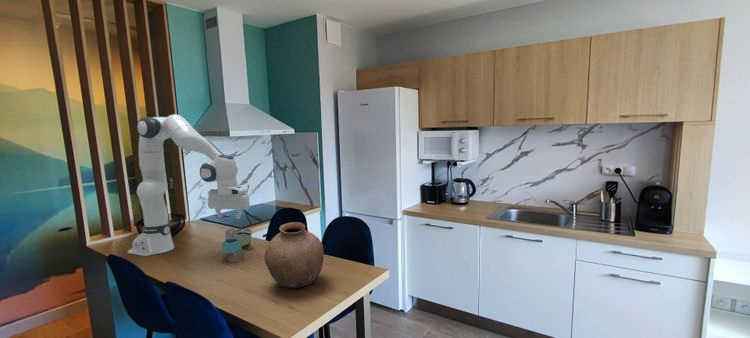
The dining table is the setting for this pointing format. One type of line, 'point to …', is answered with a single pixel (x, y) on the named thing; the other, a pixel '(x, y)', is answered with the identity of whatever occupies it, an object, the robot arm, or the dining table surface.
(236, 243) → the teal middle block
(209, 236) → the dining table surface
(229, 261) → the walnut base block
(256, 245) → the dining table surface
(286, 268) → the pottery
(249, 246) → the food container
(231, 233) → the metal cylinder
